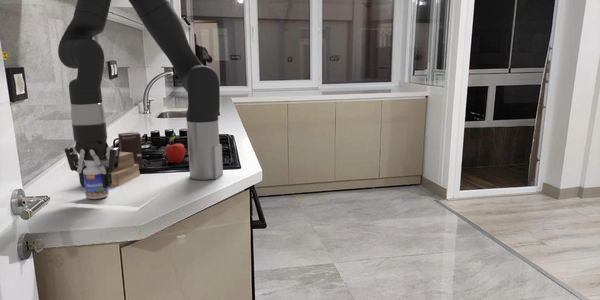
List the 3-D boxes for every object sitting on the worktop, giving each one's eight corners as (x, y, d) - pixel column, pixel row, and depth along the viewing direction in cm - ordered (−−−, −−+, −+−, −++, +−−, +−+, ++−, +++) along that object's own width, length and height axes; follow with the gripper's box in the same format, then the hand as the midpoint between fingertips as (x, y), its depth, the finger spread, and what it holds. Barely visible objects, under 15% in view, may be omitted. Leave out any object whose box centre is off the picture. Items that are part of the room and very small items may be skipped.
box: (123, 173, 131) (120, 135, 129) (121, 170, 135) (117, 133, 133) (143, 170, 135) (140, 133, 132) (140, 167, 138) (137, 131, 136)
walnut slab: (134, 165, 126) (133, 152, 125) (111, 173, 118) (110, 159, 117) (111, 163, 129) (109, 150, 128) (87, 170, 121) (85, 156, 120)
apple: (163, 162, 145) (160, 134, 143) (182, 159, 149) (180, 132, 147) (170, 166, 139) (168, 137, 137) (190, 163, 143) (188, 135, 141)
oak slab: (139, 176, 129) (138, 164, 128) (119, 187, 118) (118, 173, 117) (107, 175, 130) (105, 163, 130) (84, 185, 120) (82, 172, 119)
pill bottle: (86, 200, 104) (81, 162, 102) (85, 194, 109) (81, 158, 107) (109, 197, 107) (105, 160, 105) (108, 191, 111) (104, 156, 109)
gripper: (124, 119, 106) (130, 183, 110) (73, 119, 108) (80, 181, 112) (106, 124, 99) (113, 192, 103) (52, 123, 101) (60, 190, 105)
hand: (96, 186), depth 107 cm, fingers closed on pill bottle, 5 cm apart
